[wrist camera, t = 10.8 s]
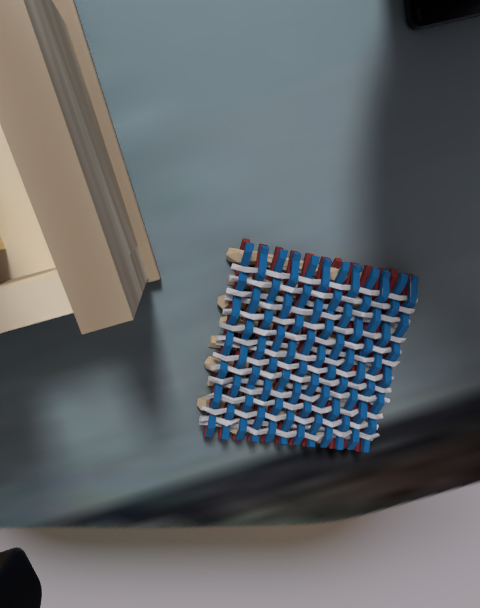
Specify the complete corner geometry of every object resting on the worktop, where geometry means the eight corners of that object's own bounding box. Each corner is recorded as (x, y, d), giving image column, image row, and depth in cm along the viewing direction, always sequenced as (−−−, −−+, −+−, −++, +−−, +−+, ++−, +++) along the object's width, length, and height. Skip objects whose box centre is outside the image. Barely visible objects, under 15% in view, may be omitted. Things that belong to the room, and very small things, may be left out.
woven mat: (189, 426, 22) (190, 448, 20) (227, 234, 19) (233, 237, 17) (360, 442, 24) (377, 464, 22) (412, 271, 22) (436, 278, 20)
